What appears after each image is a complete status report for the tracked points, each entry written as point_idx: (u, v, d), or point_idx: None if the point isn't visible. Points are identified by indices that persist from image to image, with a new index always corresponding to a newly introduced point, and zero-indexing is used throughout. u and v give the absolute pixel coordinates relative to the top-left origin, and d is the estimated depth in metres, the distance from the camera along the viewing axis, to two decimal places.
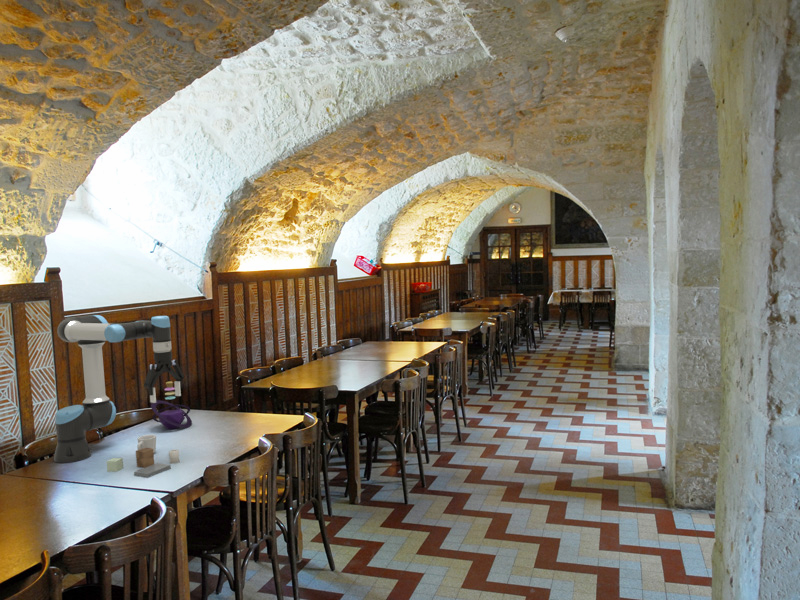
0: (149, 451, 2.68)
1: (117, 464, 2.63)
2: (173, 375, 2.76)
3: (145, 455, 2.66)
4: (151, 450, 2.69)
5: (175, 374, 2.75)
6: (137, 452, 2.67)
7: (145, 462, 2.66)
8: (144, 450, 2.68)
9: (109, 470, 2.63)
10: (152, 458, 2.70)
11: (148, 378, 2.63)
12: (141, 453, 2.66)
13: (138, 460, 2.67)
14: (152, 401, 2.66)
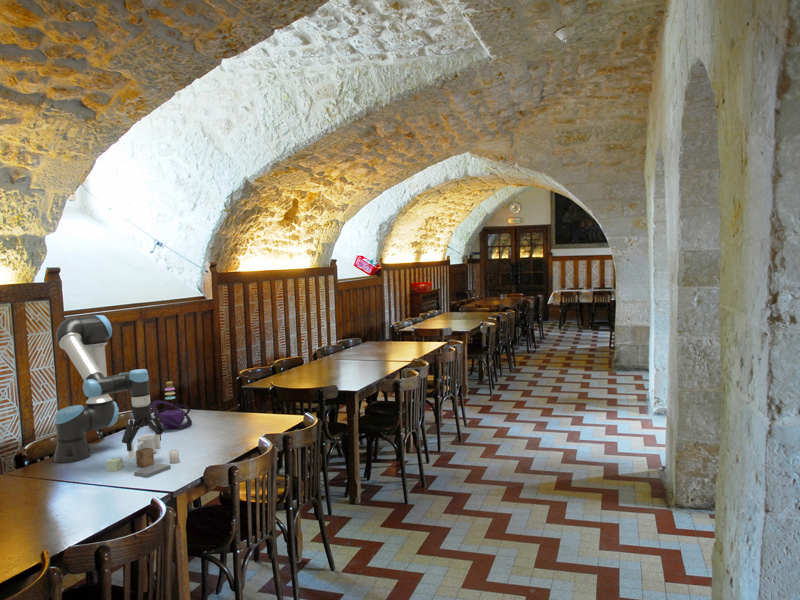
0: (149, 451, 2.68)
1: (117, 464, 2.63)
2: (152, 428, 2.73)
3: (145, 455, 2.66)
4: (151, 450, 2.69)
5: (154, 427, 2.72)
6: (137, 452, 2.67)
7: (145, 462, 2.66)
8: (144, 450, 2.68)
9: (109, 470, 2.63)
10: (152, 458, 2.70)
11: (126, 434, 2.60)
12: (141, 453, 2.66)
13: (138, 460, 2.67)
14: (131, 457, 2.62)
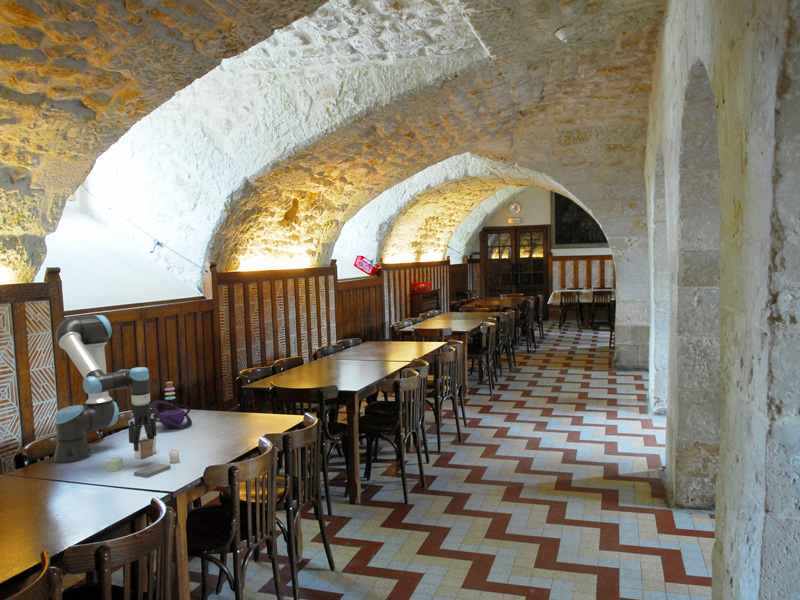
0: (148, 442, 2.68)
1: (117, 464, 2.63)
2: (147, 430, 2.71)
3: (144, 447, 2.66)
4: (150, 441, 2.69)
5: (149, 430, 2.70)
6: None
7: (144, 453, 2.67)
8: (143, 441, 2.69)
9: (109, 470, 2.63)
10: (151, 450, 2.70)
11: (131, 435, 2.63)
12: None
13: None
14: (137, 456, 2.67)
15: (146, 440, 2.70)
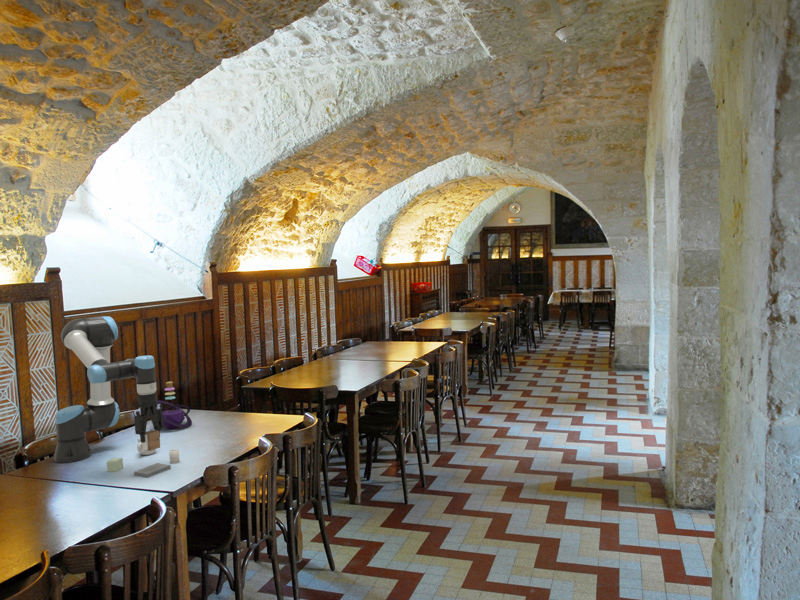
0: (155, 433, 2.58)
1: (117, 464, 2.63)
2: (153, 421, 2.61)
3: (150, 438, 2.56)
4: (157, 432, 2.59)
5: (156, 420, 2.60)
6: None
7: (151, 444, 2.56)
8: (150, 432, 2.58)
9: (109, 470, 2.63)
10: (158, 441, 2.59)
11: (137, 426, 2.53)
12: (147, 435, 2.56)
13: None
14: (144, 448, 2.56)
15: (153, 431, 2.60)
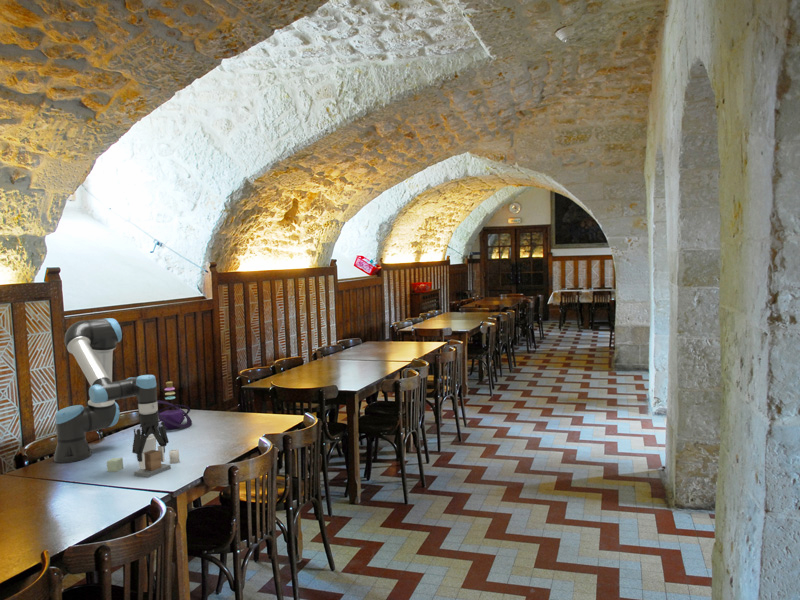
0: (156, 453, 2.59)
1: (117, 464, 2.63)
2: (157, 438, 2.62)
3: (152, 458, 2.57)
4: (158, 452, 2.60)
5: (160, 437, 2.62)
6: (144, 455, 2.58)
7: (152, 464, 2.57)
8: (151, 452, 2.59)
9: (109, 470, 2.63)
10: (159, 461, 2.60)
11: (135, 444, 2.52)
12: (148, 455, 2.57)
13: (145, 462, 2.58)
14: (141, 467, 2.55)
15: (154, 451, 2.60)
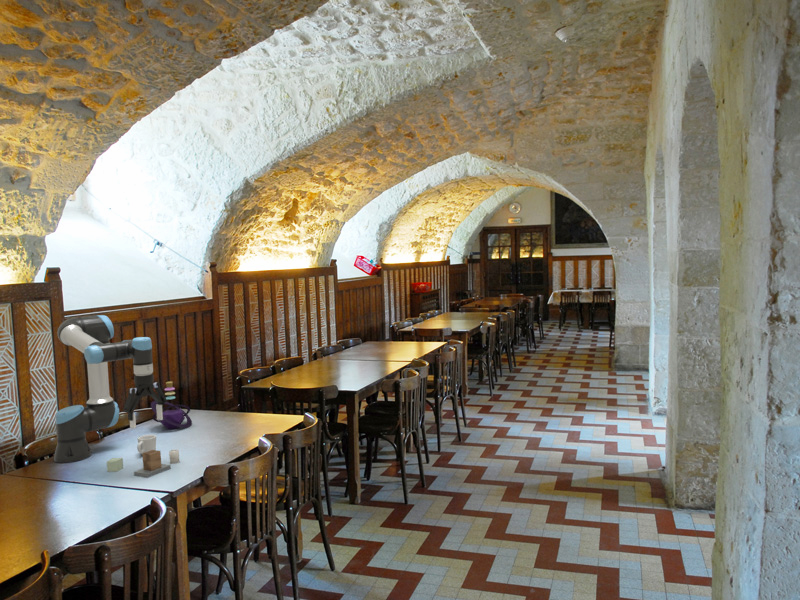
0: (156, 453, 2.59)
1: (117, 464, 2.63)
2: (155, 398, 2.65)
3: (152, 458, 2.57)
4: (158, 452, 2.60)
5: (157, 397, 2.65)
6: (144, 455, 2.58)
7: (152, 464, 2.57)
8: (151, 452, 2.59)
9: (109, 470, 2.63)
10: (159, 461, 2.60)
11: (128, 403, 2.53)
12: (148, 455, 2.57)
13: (145, 462, 2.58)
14: (132, 426, 2.55)
15: (154, 451, 2.60)
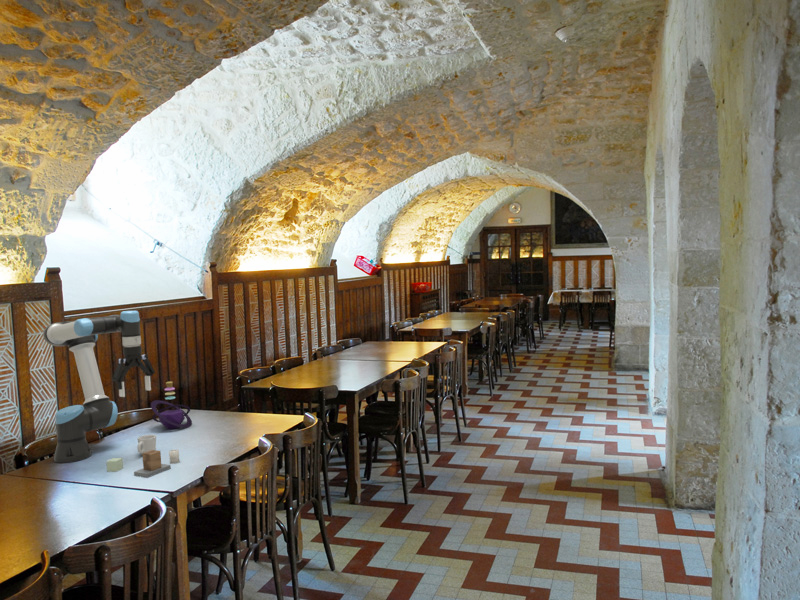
0: (156, 453, 2.59)
1: (117, 464, 2.63)
2: (143, 370, 2.77)
3: (152, 458, 2.57)
4: (158, 452, 2.60)
5: (145, 368, 2.77)
6: (144, 455, 2.58)
7: (152, 464, 2.57)
8: (151, 452, 2.59)
9: (109, 470, 2.63)
10: (159, 461, 2.60)
11: (117, 372, 2.65)
12: (148, 455, 2.57)
13: (145, 462, 2.58)
14: (121, 395, 2.67)
15: (154, 451, 2.60)
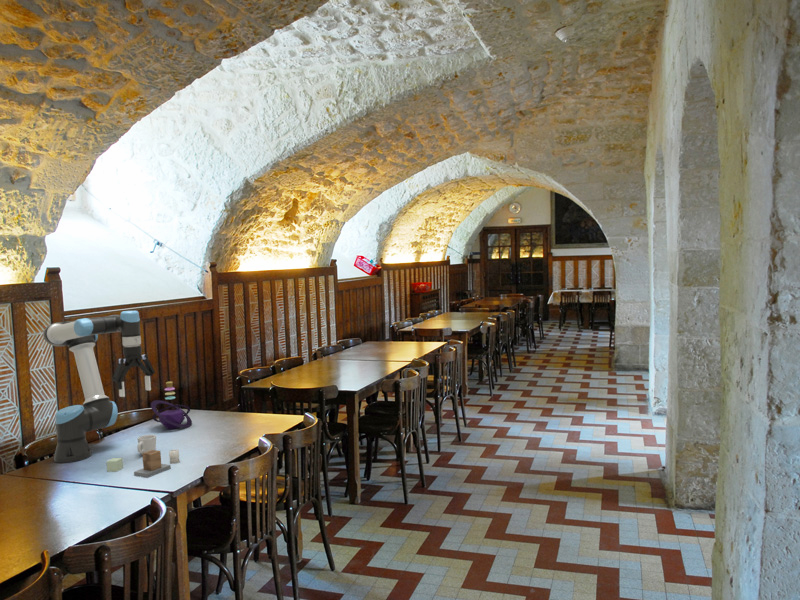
0: (156, 453, 2.59)
1: (117, 464, 2.63)
2: (143, 369, 2.77)
3: (152, 458, 2.57)
4: (158, 452, 2.60)
5: (145, 368, 2.77)
6: (144, 455, 2.58)
7: (152, 464, 2.57)
8: (151, 452, 2.59)
9: (109, 470, 2.63)
10: (159, 461, 2.60)
11: (117, 372, 2.65)
12: (148, 455, 2.57)
13: (145, 462, 2.58)
14: (121, 395, 2.67)
15: (154, 451, 2.60)
